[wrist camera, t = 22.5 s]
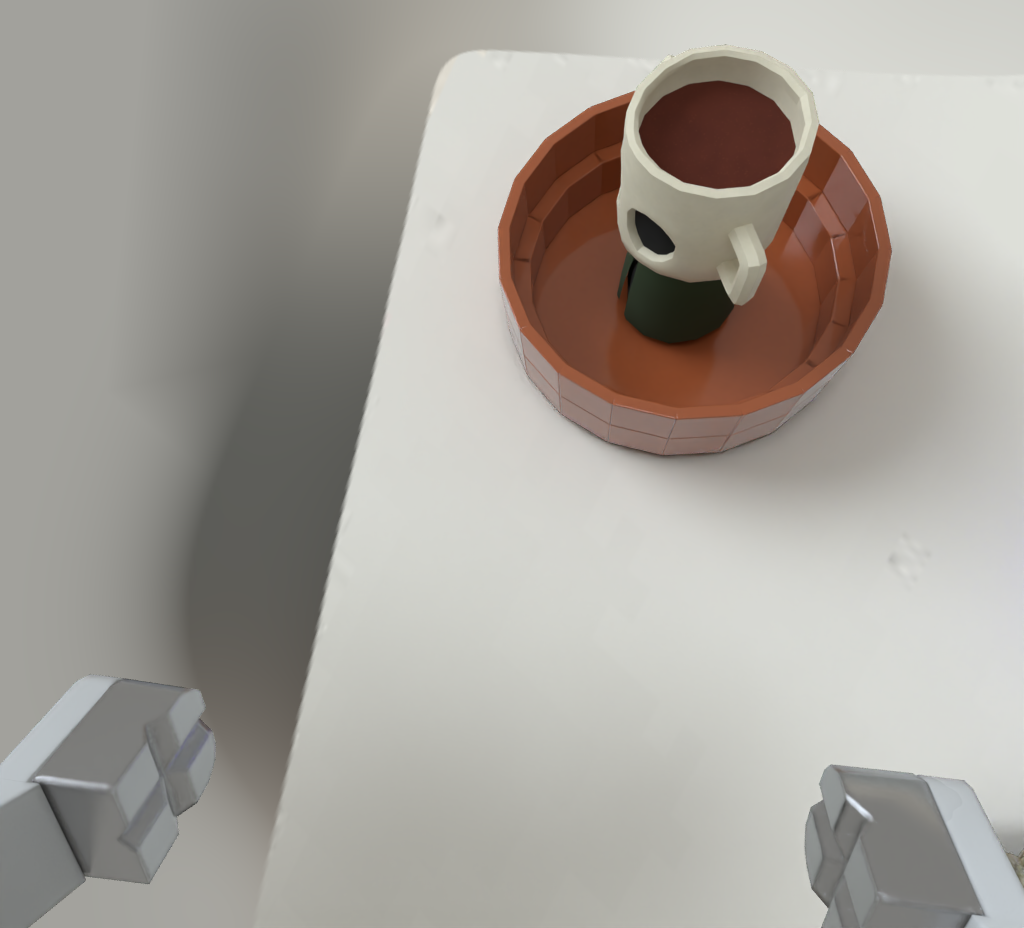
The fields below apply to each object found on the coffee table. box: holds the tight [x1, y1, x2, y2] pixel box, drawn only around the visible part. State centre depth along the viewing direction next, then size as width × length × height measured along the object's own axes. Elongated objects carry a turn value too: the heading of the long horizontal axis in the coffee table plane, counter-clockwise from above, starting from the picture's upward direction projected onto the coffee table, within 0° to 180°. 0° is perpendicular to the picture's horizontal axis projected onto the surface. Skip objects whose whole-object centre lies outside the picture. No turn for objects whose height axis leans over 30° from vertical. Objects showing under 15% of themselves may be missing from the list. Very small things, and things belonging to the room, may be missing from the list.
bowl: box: [498, 91, 892, 455], centre depth 36 cm, size 18×18×6 cm
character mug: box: [616, 45, 819, 344], centre depth 32 cm, size 11×7×13 cm, turn 15°
